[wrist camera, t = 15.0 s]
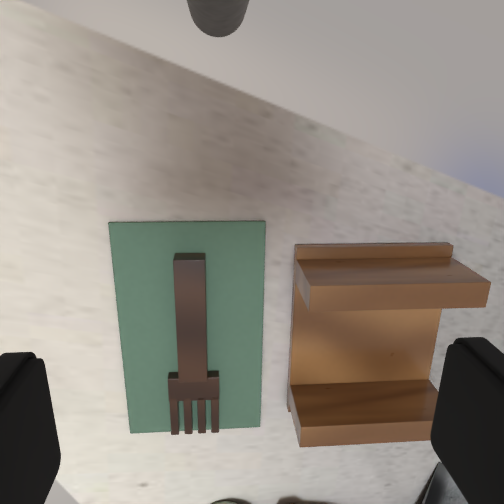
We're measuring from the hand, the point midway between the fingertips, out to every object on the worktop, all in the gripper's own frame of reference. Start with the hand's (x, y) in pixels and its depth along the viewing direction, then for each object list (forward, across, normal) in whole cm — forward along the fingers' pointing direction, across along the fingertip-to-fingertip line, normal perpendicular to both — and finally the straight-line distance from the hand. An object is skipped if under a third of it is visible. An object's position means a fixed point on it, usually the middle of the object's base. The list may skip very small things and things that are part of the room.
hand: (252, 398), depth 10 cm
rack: (+23, -12, +12) cm, 29 cm away
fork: (+23, +3, +13) cm, 27 cm away
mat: (+23, +3, +12) cm, 26 cm away
